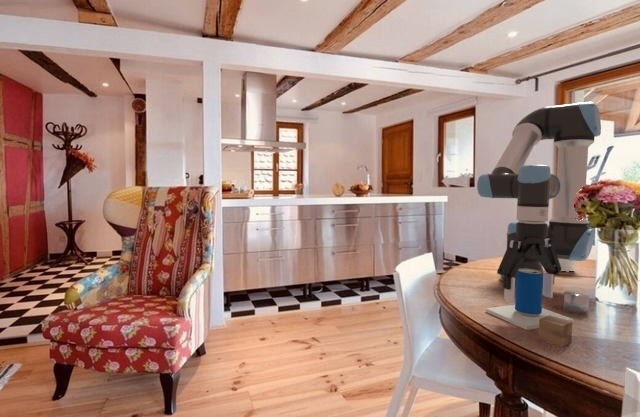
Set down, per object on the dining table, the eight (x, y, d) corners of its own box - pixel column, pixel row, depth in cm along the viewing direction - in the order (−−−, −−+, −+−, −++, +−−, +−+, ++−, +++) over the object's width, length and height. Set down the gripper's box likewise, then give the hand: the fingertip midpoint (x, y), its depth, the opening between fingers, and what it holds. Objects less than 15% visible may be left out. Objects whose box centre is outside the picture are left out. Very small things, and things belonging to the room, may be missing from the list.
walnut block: (548, 335, 91) (549, 315, 91) (571, 342, 87) (572, 321, 87) (538, 339, 88) (539, 319, 88) (561, 347, 84) (562, 325, 84)
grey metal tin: (573, 306, 112) (574, 290, 112) (593, 313, 107) (594, 296, 106) (558, 308, 111) (559, 292, 110) (577, 315, 105) (578, 298, 104)
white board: (528, 306, 112) (528, 303, 112) (573, 322, 99) (573, 319, 99) (485, 311, 107) (485, 308, 107) (526, 329, 94) (526, 326, 94)
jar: (577, 269, 162) (579, 235, 161) (578, 274, 153) (580, 238, 152) (548, 266, 168) (550, 233, 167) (548, 270, 159) (549, 236, 158)
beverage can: (541, 319, 99) (543, 274, 98) (513, 314, 102) (515, 271, 101) (541, 312, 104) (543, 270, 103) (515, 308, 107) (517, 267, 107)
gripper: (506, 224, 94) (503, 307, 95) (578, 222, 102) (574, 298, 103) (484, 221, 101) (482, 298, 102) (553, 219, 109) (550, 291, 110)
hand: (528, 298), depth 103 cm, fingers open, 13 cm apart
